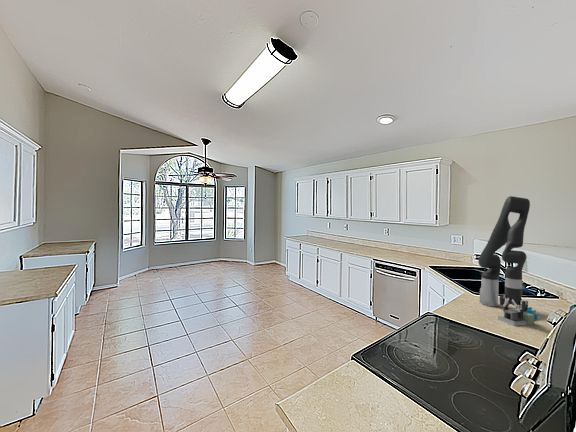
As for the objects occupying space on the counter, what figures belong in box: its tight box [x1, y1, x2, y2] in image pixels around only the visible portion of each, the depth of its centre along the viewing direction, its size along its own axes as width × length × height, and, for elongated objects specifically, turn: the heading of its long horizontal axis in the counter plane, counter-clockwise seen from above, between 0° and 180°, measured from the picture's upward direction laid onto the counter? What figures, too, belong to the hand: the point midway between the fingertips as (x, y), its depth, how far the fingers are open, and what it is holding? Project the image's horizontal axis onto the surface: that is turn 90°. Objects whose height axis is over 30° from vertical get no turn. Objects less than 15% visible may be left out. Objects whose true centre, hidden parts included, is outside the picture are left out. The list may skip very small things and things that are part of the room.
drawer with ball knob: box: [497, 308, 535, 327], centre depth 156 cm, size 10×13×6 cm
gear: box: [521, 304, 538, 321], centre depth 163 cm, size 11×6×10 cm
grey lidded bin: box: [503, 308, 522, 321], centre depth 156 cm, size 7×5×5 cm
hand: (512, 316), depth 156 cm, fingers open, 7 cm apart
